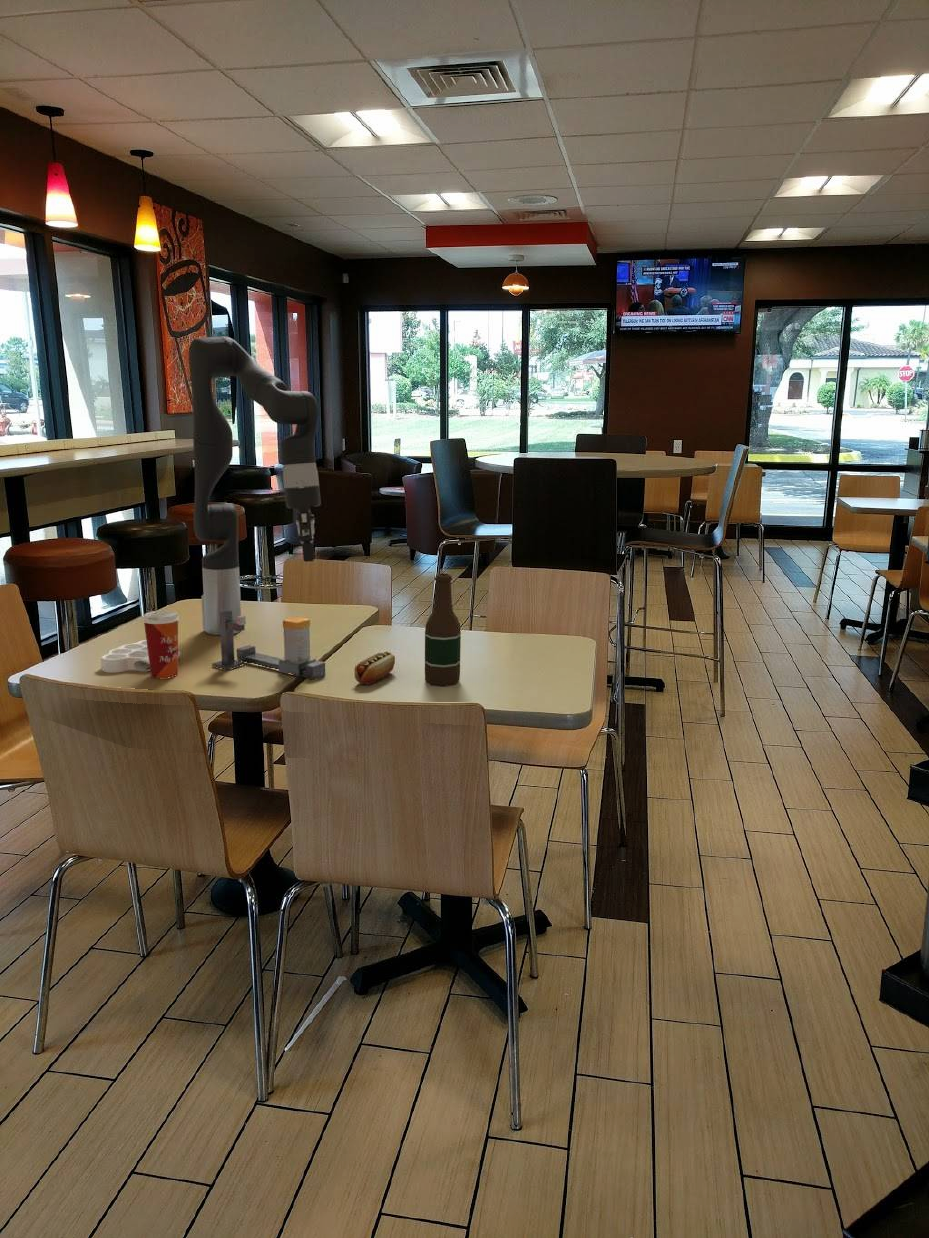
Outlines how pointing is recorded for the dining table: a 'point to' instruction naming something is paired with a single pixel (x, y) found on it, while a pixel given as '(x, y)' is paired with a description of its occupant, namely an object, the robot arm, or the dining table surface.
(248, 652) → the rail
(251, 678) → the dining table surface
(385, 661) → the hot dog
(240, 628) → the hook
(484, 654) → the dining table surface
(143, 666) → the white tray with holes
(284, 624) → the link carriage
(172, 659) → the paper cup
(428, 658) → the beer bottle
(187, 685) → the dining table surface
